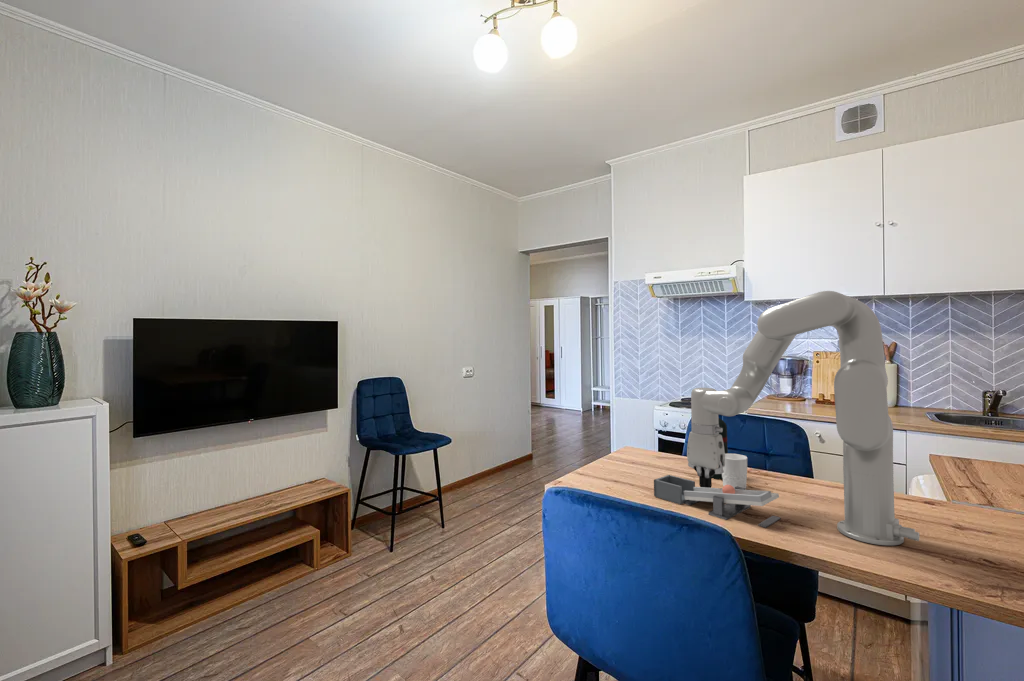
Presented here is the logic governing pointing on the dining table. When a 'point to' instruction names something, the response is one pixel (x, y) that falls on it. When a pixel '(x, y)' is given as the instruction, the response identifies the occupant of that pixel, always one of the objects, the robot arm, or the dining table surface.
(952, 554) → the dining table surface
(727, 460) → the white cup
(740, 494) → the seesaw
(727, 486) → the ball
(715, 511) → the stand
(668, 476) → the grey open cubby box
